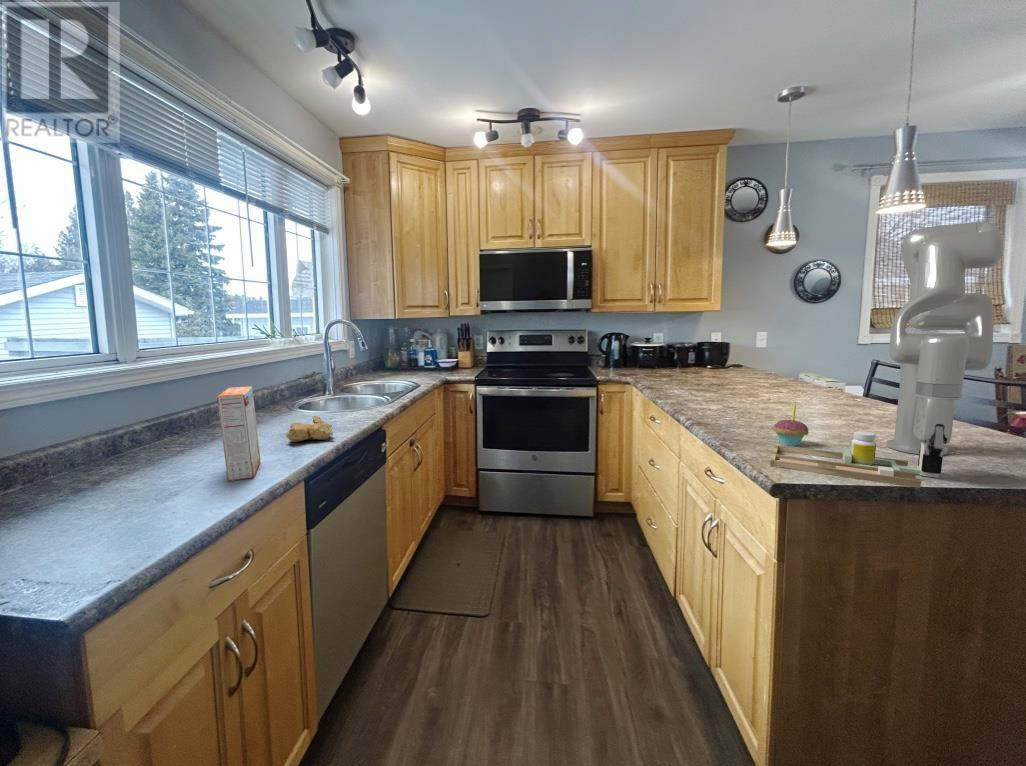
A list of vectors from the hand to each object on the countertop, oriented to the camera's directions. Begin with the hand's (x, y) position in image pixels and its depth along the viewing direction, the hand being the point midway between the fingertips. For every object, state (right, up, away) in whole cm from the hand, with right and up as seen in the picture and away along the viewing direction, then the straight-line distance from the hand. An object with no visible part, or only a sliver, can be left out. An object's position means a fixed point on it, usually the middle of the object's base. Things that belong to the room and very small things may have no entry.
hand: (928, 469), depth 102 cm
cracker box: (-163, -3, +11) cm, 164 cm away
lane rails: (-16, -1, +7) cm, 17 cm away
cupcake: (-15, +2, +27) cm, 31 cm away
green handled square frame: (-6, -1, +4) cm, 7 cm away
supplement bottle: (-10, -1, +7) cm, 12 cm away
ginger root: (-160, +1, +41) cm, 165 cm away
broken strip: (-19, -1, +4) cm, 20 cm away
